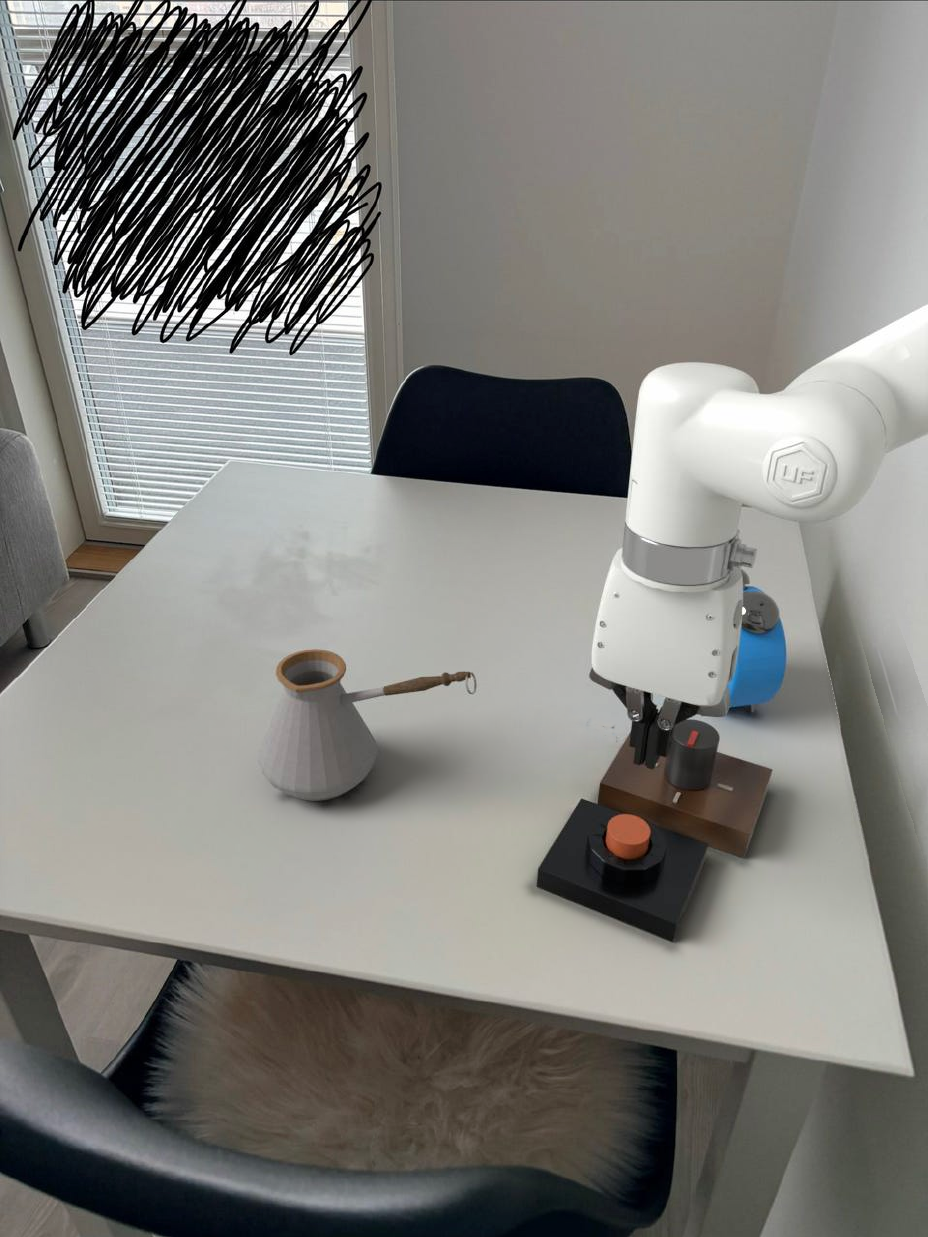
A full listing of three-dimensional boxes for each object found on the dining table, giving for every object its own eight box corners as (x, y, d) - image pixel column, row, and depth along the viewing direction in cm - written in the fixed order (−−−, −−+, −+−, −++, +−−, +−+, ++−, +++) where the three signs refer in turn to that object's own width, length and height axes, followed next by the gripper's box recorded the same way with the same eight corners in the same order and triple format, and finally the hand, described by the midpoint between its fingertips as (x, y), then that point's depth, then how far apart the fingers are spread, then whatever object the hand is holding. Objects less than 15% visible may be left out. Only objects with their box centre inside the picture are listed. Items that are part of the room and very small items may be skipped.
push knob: (653, 838, 75) (656, 823, 75) (640, 865, 73) (642, 850, 72) (613, 823, 77) (615, 808, 76) (599, 850, 74) (601, 834, 73)
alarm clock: (773, 728, 95) (803, 608, 87) (720, 734, 94) (745, 613, 86) (721, 662, 106) (743, 551, 98) (672, 667, 105) (691, 555, 97)
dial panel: (767, 792, 86) (773, 767, 84) (743, 859, 78) (750, 833, 77) (630, 748, 92) (634, 724, 90) (596, 806, 84) (599, 781, 82)
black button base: (704, 861, 78) (712, 828, 76) (672, 942, 70) (679, 908, 68) (579, 815, 83) (582, 783, 81) (536, 887, 75) (538, 853, 73)
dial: (670, 755, 86) (678, 711, 83) (715, 768, 84) (724, 724, 82) (658, 781, 83) (666, 737, 80) (705, 796, 81) (714, 751, 78)
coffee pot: (240, 802, 84) (221, 672, 76) (290, 730, 93) (277, 608, 85) (457, 845, 79) (459, 711, 72) (485, 765, 89) (490, 640, 81)
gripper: (798, 550, 61) (753, 758, 70) (594, 510, 67) (578, 706, 76) (777, 596, 55) (731, 816, 64) (556, 548, 61) (544, 755, 70)
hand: (648, 756), depth 70 cm, fingers closed
